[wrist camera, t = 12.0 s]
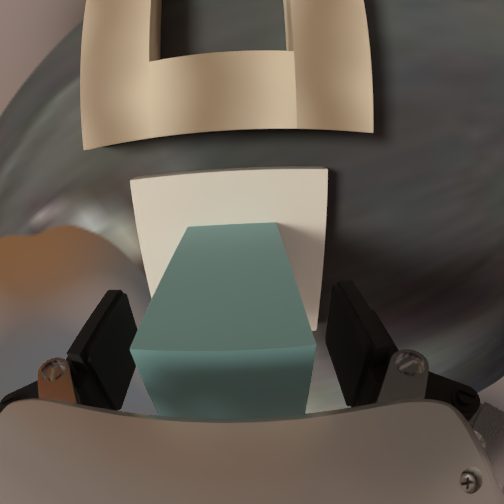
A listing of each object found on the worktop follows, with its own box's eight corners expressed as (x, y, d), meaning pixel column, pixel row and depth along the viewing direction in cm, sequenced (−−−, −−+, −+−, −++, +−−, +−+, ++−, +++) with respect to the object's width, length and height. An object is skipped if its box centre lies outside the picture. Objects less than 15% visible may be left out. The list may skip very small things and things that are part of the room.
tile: (322, 166, 14) (328, 169, 13) (313, 320, 18) (316, 330, 18) (136, 176, 14) (129, 180, 13) (164, 326, 18) (161, 336, 17)
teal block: (275, 222, 15) (315, 344, 6) (275, 297, 16) (300, 435, 8) (187, 226, 14) (129, 349, 6) (197, 300, 16) (170, 437, 8)
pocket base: (336, -61, 8) (345, -76, 6) (357, 132, 14) (373, 133, 12) (111, -46, 8) (99, -58, 6) (101, 146, 13) (83, 150, 12)
